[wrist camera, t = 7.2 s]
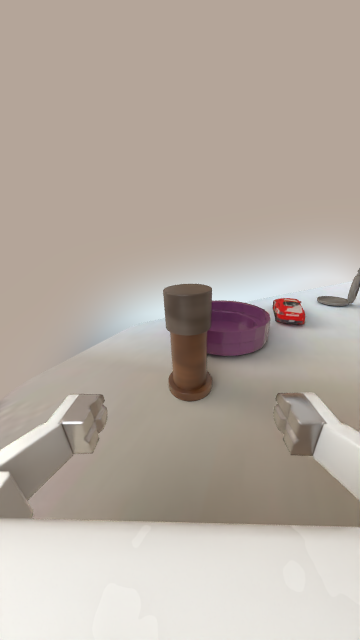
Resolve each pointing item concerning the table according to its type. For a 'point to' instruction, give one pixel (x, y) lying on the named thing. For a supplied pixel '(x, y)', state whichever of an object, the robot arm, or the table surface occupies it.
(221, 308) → the bowl
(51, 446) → the robot arm
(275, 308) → the race car
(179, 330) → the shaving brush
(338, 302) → the pocket watch
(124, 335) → the table surface
